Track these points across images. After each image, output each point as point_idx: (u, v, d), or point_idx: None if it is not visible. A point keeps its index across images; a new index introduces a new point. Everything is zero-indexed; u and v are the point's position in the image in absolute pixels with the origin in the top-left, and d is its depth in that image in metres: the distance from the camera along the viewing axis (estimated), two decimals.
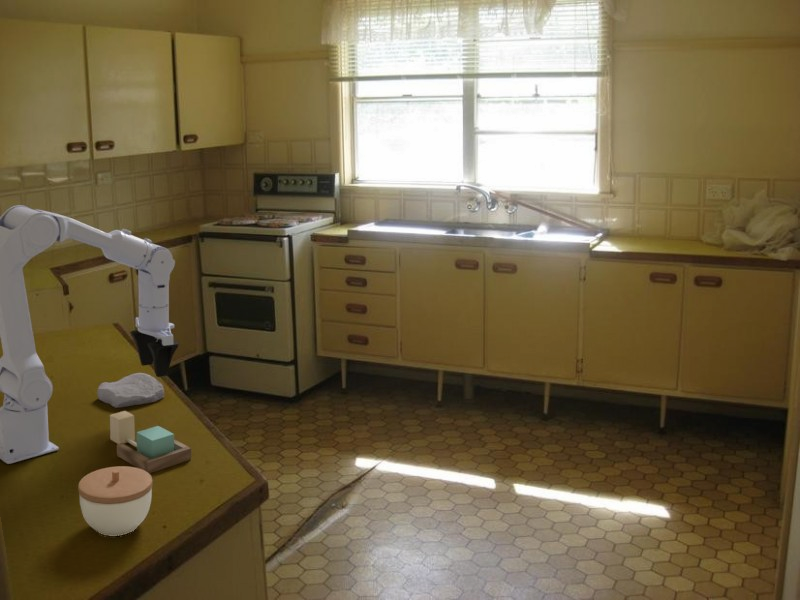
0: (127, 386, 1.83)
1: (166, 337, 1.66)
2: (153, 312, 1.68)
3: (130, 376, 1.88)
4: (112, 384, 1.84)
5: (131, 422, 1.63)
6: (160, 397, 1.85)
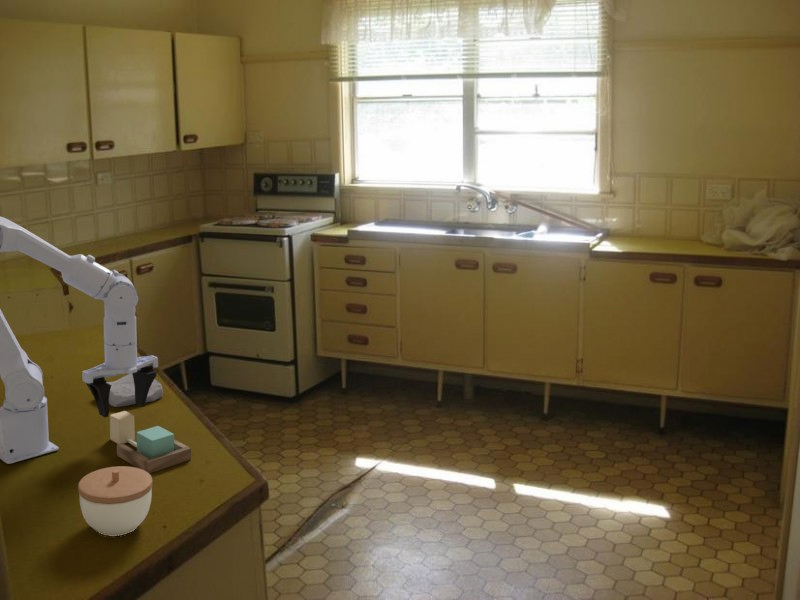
0: (126, 385, 1.84)
1: (83, 373, 1.56)
2: (104, 346, 1.59)
3: (129, 375, 1.88)
4: (111, 383, 1.84)
5: (131, 422, 1.63)
6: (159, 396, 1.86)
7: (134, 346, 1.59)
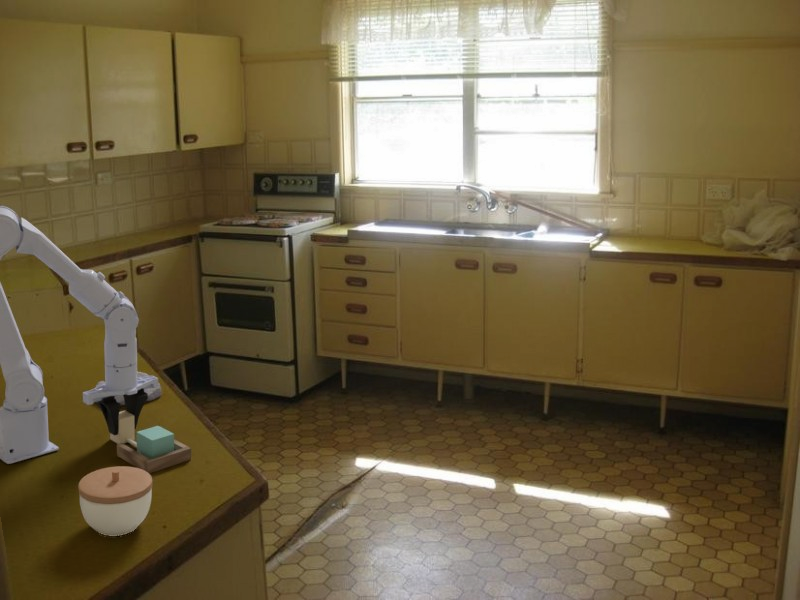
0: None
1: (84, 394, 1.57)
2: (105, 368, 1.60)
3: None
4: None
5: (131, 422, 1.63)
6: (157, 395, 1.86)
7: (134, 367, 1.60)
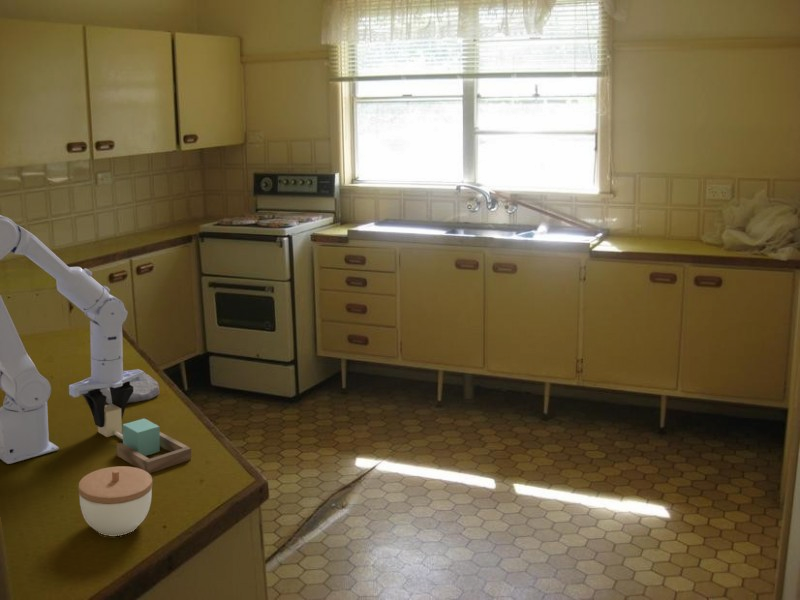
0: None
1: (70, 387, 1.60)
2: (91, 361, 1.63)
3: None
4: None
5: (118, 415, 1.66)
6: (155, 394, 1.87)
7: (120, 361, 1.63)
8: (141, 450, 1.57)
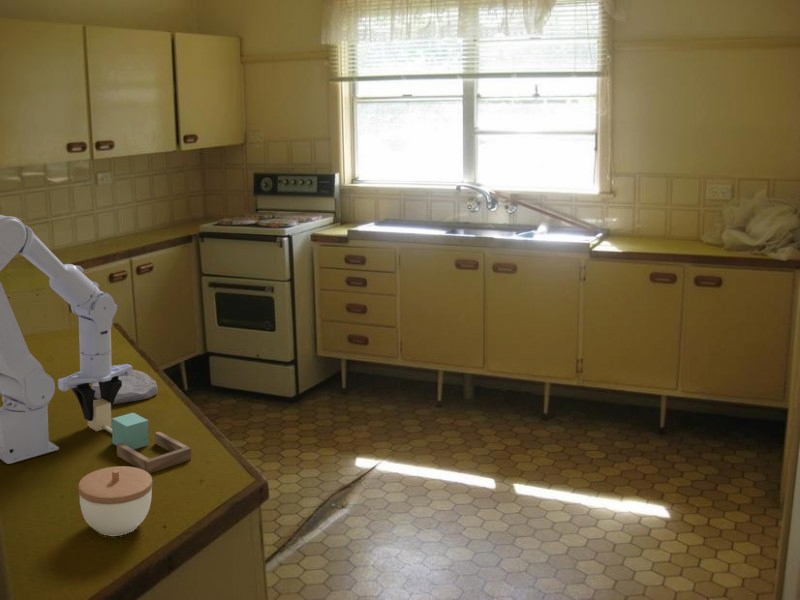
0: None
1: (59, 381, 1.63)
2: (80, 356, 1.65)
3: None
4: None
5: (107, 410, 1.69)
6: (153, 394, 1.87)
7: (108, 355, 1.66)
8: (130, 444, 1.60)
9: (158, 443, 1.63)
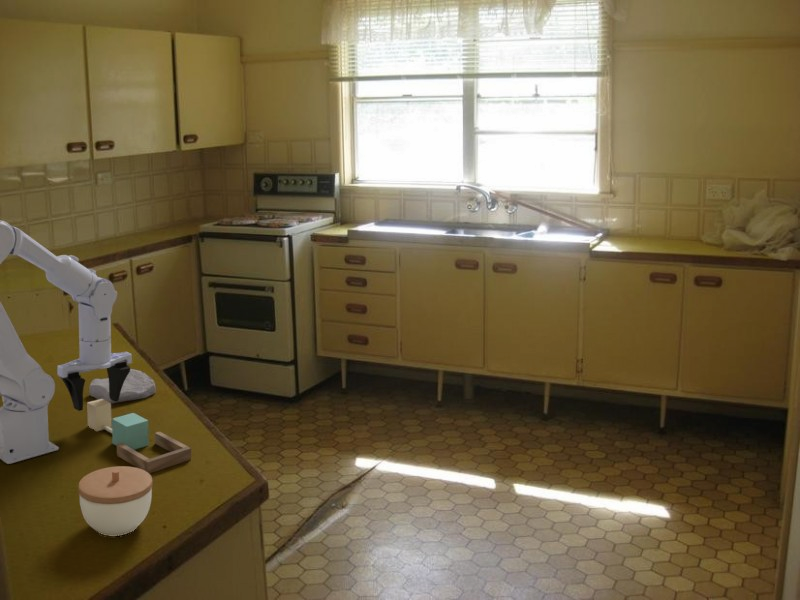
0: None
1: (58, 367, 1.62)
2: (79, 342, 1.65)
3: None
4: (104, 380, 1.86)
5: (107, 410, 1.69)
6: (152, 393, 1.88)
7: (108, 342, 1.65)
8: (130, 444, 1.60)
9: (158, 443, 1.63)
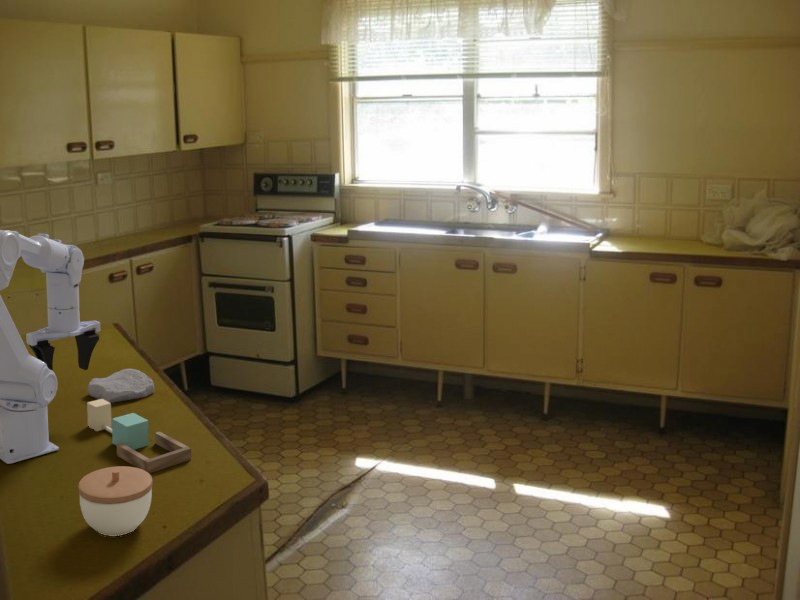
0: (118, 381, 1.86)
1: (27, 336, 1.62)
2: None
3: (120, 372, 1.90)
4: (102, 380, 1.86)
5: (107, 410, 1.69)
6: (150, 392, 1.88)
7: (77, 310, 1.66)
8: (130, 444, 1.60)
9: (158, 443, 1.63)
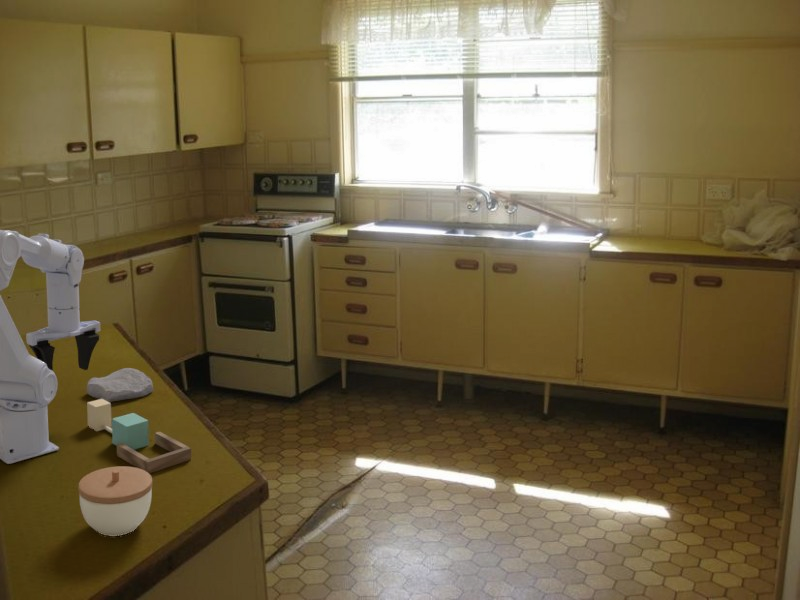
0: (117, 381, 1.86)
1: (27, 336, 1.62)
2: None
3: (119, 371, 1.90)
4: (101, 379, 1.86)
5: (107, 410, 1.69)
6: (149, 391, 1.88)
7: (77, 310, 1.66)
8: (130, 444, 1.60)
9: (158, 443, 1.63)
